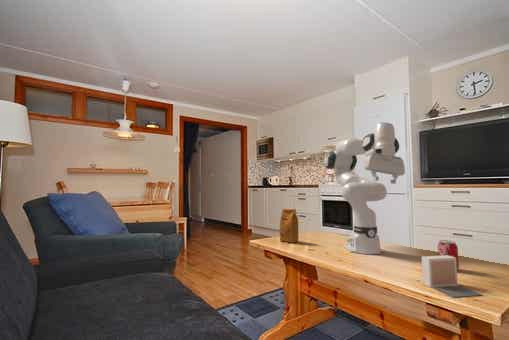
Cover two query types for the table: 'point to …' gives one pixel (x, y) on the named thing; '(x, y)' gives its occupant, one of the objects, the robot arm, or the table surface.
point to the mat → (457, 291)
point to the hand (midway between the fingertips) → (384, 182)
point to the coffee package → (289, 226)
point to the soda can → (448, 250)
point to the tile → (439, 271)
